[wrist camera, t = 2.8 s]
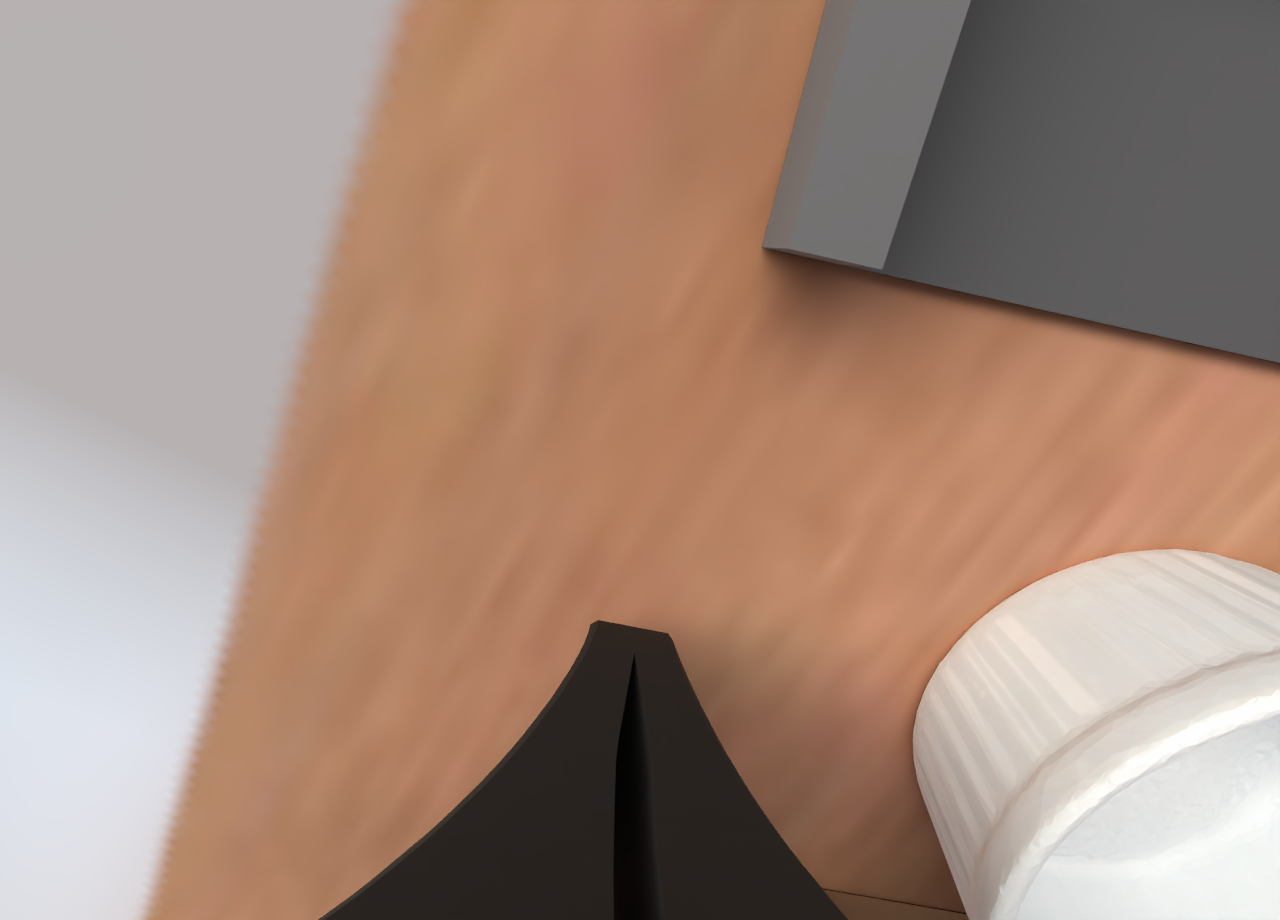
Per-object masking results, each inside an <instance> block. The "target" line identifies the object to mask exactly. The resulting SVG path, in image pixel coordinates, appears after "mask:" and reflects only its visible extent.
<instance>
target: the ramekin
mask: <svg viewBox="0 0 1280 920" xmlns="http://www.w3.org/2000/svg"><path fill="white" fill-rule="evenodd" d="M913 760H914V765H915V769H916V776H917V781H918V784H919V787H920V790H921V793H922V796H923V799H924V802H925V805H926V807H927V810H928V813H929V815H930V818H931V821H932V823H933V826H934V829H935V831H936V834H937V837H938V839H939V842H940V845H941V847H942V850H943V852H944V855H945V858H946V860H947V863H948V866H949V868H950V871H951V874H952V876H953V879H954V881H955V884H956V887H957V889H958V892H959V895H960V897H961V900H962V903H963V905H964V908H965V911H966V913H967V916H968V918H969V920H1280V574H1278V573H1275V572H1273V571H1270V570H1268V569H1265V568H1262V567H1260V566H1257V565H1255V564H1251V563H1247V562H1243V561H1239V560H1235V559H1231V558H1227V557H1224V556H1220V555H1217V554H1214V553H1208V552H1200V551H1191V550H1181V549H1165V550H1145V551H1136V552H1127V553H1119V554H1114V555H1110V556H1107V557H1103V558H1098V559H1094V560H1091V561H1088V562H1084V563H1081V564H1078V565H1075V566H1072V567H1069V568H1066V569H1064V570H1061V571H1058V572H1056V573H1054V574H1051V575H1049V576H1046V577H1044V578H1042V579H1040V580H1038V581H1036V582H1034V583H1032V584H1030V585H1029V586H1027V587H1025V588H1024V589H1022V590H1020V591H1019V592H1017V593H1015V594H1014V595H1012V596H1011V597H1009V598H1007V599H1006V600H1004V601H1003V602H1001V603H1000V604H999V605H997V606H996V607H994V608H993V609H992V610H990V611H989V612H988V613H987V614H985V615H984V616H983V617H982V618H981V619H979V620H978V621H977V622H976V623H975V624H974V625H973V626H972V627H971V628H970V629H969V630H968V631H967V632H966V633H965V634H964V635H963V636H962V637H961V638H960V639H959V640H958V641H957V642H956V643H955V645H954V646H953V647H952V649H951V650H950V651H949V653H948V654H947V655H946V656H945V658H944V659H943V660H942V661H941V662H940V663H939V665H938V667H937V669H936V670H935V672H934V674H933V676H932V677H931V679H930V681H929V683H928V684H927V687H926V689H925V691H924V693H923V696H922V699H921V702H920V704H919V707H918V710H917V714H916V720H915V725H914V730H913Z"/></svg>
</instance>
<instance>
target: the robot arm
mask: <svg viewBox="0 0 1280 920" xmlns="http://www.w3.org/2000/svg"><path fill="white" fill-rule="evenodd" d="M319 920H848V919H847V918H846V916H845V915H844V914H843V913H842V912H841V911H840V910H839V908H838V907H837V906H836V905H835V904H834V902H833V901H832V900H831V899H830V898H829V896H828V895H827V894H826V893H825V892H824V890H823V889H822V888H821V887H820V885H819V884H818V883H817V882H816V881H815V879H814V878H813V877H812V876H811V875H810V873H809V872H808V871H807V870H806V869H805V867H804V866H803V865H802V864H801V863H800V861H799V860H798V859H797V858H796V856H795V855H794V854H793V852H792V851H791V850H790V848H789V847H788V846H787V844H786V843H785V842H784V840H783V839H782V838H781V837H780V835H779V834H778V832H777V831H776V829H775V828H774V827H773V825H772V824H771V822H770V821H769V819H768V818H767V817H766V815H765V814H764V812H763V811H762V809H761V808H760V806H759V805H758V803H757V802H756V800H755V799H754V797H753V796H752V794H751V793H750V791H749V790H748V788H747V786H746V785H745V783H744V782H743V780H742V779H741V777H740V775H739V773H738V772H737V770H736V768H735V767H734V765H733V763H732V762H731V760H730V758H729V757H728V755H727V753H726V752H725V750H724V748H723V746H722V744H721V743H720V741H719V739H718V737H717V735H716V734H715V732H714V730H713V728H712V726H711V724H710V722H709V720H708V718H707V716H706V714H705V712H704V710H703V708H702V706H701V705H700V702H699V700H698V698H697V696H696V694H695V692H694V690H693V688H692V686H691V683H690V681H689V679H688V677H687V675H686V672H685V670H684V668H683V665H682V663H681V660H680V658H679V656H678V653H677V651H676V648H675V645H674V643H673V640H672V639H671V637H670V636H669V634H668V633H662V632H657V631H652V630H647V629H641V628H636V627H631V626H626V625H621V624H615V623H610V622H605V621H600V620H598V621H596V622H594V623H592V624H591V625H590V629H589V633H588V635H587V638H586V640H585V643H584V645H583V647H582V649H581V651H580V653H579V655H578V657H577V658H576V660H575V662H574V664H573V666H572V667H571V669H570V671H569V672H568V674H567V675H566V677H565V678H564V680H563V681H562V683H561V684H560V686H559V687H558V689H557V691H556V692H555V694H554V695H553V697H552V698H551V699H550V701H549V702H548V704H547V705H546V706H545V707H544V709H543V710H542V711H541V713H540V714H539V715H538V717H537V718H536V719H535V720H534V722H533V723H532V724H531V726H530V727H529V728H528V730H527V731H526V732H525V733H524V735H523V736H522V737H521V738H520V739H519V741H518V742H517V743H516V744H515V745H514V747H513V748H512V749H511V750H510V751H509V752H508V753H507V755H506V756H505V757H504V758H503V759H502V760H501V761H500V762H499V764H498V765H497V766H496V767H495V768H494V769H493V770H492V771H491V772H490V773H489V774H488V775H487V776H486V778H485V779H484V780H483V781H482V782H481V783H480V784H479V785H478V786H477V787H476V788H475V789H474V790H473V791H472V792H471V793H470V794H469V795H468V796H466V797H465V798H464V799H463V800H462V801H461V802H460V803H459V804H458V805H457V806H456V807H455V808H454V809H453V810H452V811H451V812H450V813H449V814H448V815H447V816H446V817H445V818H444V819H443V820H442V821H440V822H439V823H438V824H437V825H436V826H435V827H434V828H433V829H432V830H431V831H429V832H428V833H427V834H426V835H425V836H424V837H422V838H421V839H420V840H419V841H418V842H416V843H415V844H414V845H413V846H412V847H411V848H409V849H408V850H407V851H406V852H405V853H403V854H402V855H401V856H400V857H399V858H397V859H396V860H395V861H394V862H393V863H391V864H390V865H389V866H388V867H387V868H385V869H384V870H383V871H382V872H381V873H379V874H378V875H377V876H376V877H375V878H373V879H372V880H371V881H370V882H368V883H367V884H366V885H365V886H363V887H362V888H361V889H359V890H358V891H357V892H356V893H354V894H353V895H352V896H350V897H349V898H348V899H346V900H345V901H343V902H342V903H341V904H339V905H338V906H337V907H335V908H334V909H332V910H331V911H330V912H328V913H327V914H326V915H324V916H323V917H321V918H320V919H319Z"/></svg>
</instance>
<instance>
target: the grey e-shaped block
mask: <svg viewBox="0 0 1280 920" xmlns="http://www.w3.org/2000/svg"><path fill="white" fill-rule="evenodd" d="M762 247H763V248H768V249H772V250H777V251H781V252H785V253H790V254H794V255H799V256H803V257H808V258H812V259H817V260H821V261H826V262H830V263H835V264H839V265H844V266H848V267H853V268H857V269H861V270H866V271H870V272H875V273H879V274H884V275H888V276H893V277H897V278H902V279H906V280H911V281H915V282H920V283H924V284H928V285H933V286H937V287H942V288H946V289H951V290H955V291H960V292H964V293H969V294H973V295H978V296H982V297H987V298H991V299H995V300H1000V301H1004V302H1009V303H1013V304H1018V305H1022V306H1027V307H1031V308H1036V309H1040V310H1045V311H1049V312H1054V313H1058V314H1063V315H1067V316H1071V317H1076V318H1080V319H1085V320H1089V321H1094V322H1098V323H1103V324H1107V325H1112V326H1116V327H1121V328H1125V329H1130V330H1134V331H1138V332H1143V333H1147V334H1152V335H1156V336H1161V337H1165V338H1170V339H1174V340H1179V341H1183V342H1188V343H1192V344H1197V345H1201V346H1206V347H1210V348H1214V349H1219V350H1223V351H1228V352H1232V353H1237V354H1241V355H1246V356H1250V357H1255V358H1259V359H1264V360H1268V361H1273V362H1277V363H1280V0H827V1H826V5H825V9H824V13H823V16H822V20H821V24H820V28H819V32H818V36H817V39H816V43H815V47H814V51H813V55H812V58H811V62H810V66H809V70H808V74H807V78H806V81H805V85H804V89H803V93H802V97H801V100H800V104H799V108H798V112H797V116H796V120H795V123H794V127H793V131H792V135H791V139H790V142H789V146H788V150H787V154H786V158H785V162H784V165H783V169H782V173H781V177H780V181H779V184H778V188H777V192H776V196H775V200H774V203H773V207H772V211H771V215H770V219H769V223H768V226H767V230H766V234H765V238H764V242H763V245H762Z"/></svg>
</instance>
